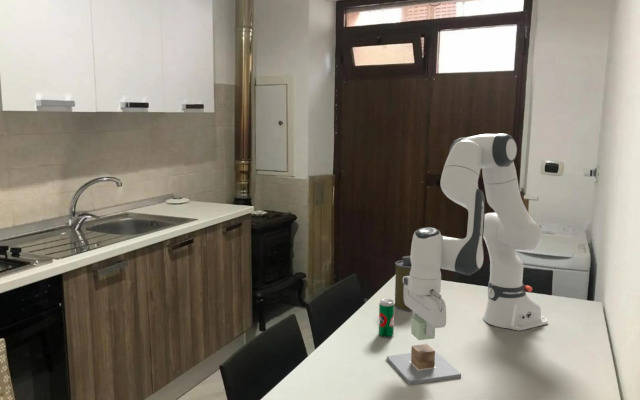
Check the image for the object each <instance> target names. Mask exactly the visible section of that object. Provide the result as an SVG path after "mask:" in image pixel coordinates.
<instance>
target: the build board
mask: <svg viewBox="0 0 640 400" xmlns="http://www.w3.org/2000/svg"><path fill="white" fill-rule="evenodd" d="M433 350H434V351H435V365H434V367H432V368H425V369H418V368H417V367H416V366H415V365H414V364H413V363H412V362H411V352H408V353H402V354H394V355H387V356H386V360H387V362H388V363H389V364H390V365H391V366H392V367H393V368H394V370H396V372H397V373H398V374H399V375H400V376H401V377H402V379H403V380H405V381H406V383H407V384H408V386H409V385H411V386H412V385H418V384H424V383H431V382H432V383H433V382H436V381H438V382H439V381H444V380H451V379H457V378H462V373H461V372H460V371H459V370H458V369H457V368H455V367H454V366H453V365H452V364H451V363H449V362H448V361H447V360H446V359H445V358H444V357H443V356H442V355H440V354H439V353H438V352H437V351H436V350H435V349H433Z"/></svg>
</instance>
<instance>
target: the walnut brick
mask: <svg viewBox="0 0 640 400" xmlns="http://www.w3.org/2000/svg"><path fill="white" fill-rule="evenodd" d="M410 349H411V350H410V351H411V352H410V353H411V362H412V363H413V364H414V365H415V366H416V367H417V368H418V369H425V368H432V367H434V365H435V351H436V350H435V349H434V348H432V347H431V346H430V345H429V344H428V343H423V344H416V345H415V344H414V345H411V348H410ZM434 350H435V351H434Z"/></svg>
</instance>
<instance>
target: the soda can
mask: <svg viewBox="0 0 640 400" xmlns="http://www.w3.org/2000/svg"><path fill="white" fill-rule="evenodd" d="M394 304H395V302H394V300H392V299H390V298H383V299H382V298H381V299H380V302H379V303H378V334H379V336H381V337H382V338H391V337H392V336H394V332H395V331H394V330H395V329H394V328H395V327H394V326H395V306H394Z"/></svg>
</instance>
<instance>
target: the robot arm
mask: <svg viewBox="0 0 640 400" xmlns="http://www.w3.org/2000/svg"><path fill="white" fill-rule="evenodd" d="M517 153H518V145H517V142H516V140H515V138H514V137H513V136H512V135H511V134H508V133H500V132H499V133H483V134H477V135H472V136H467V137H466V136H463V137H459V138H457V139H455V140H454V141H453V142H452V144H451V145H450V147H449V152H448V156H447V158H446V160H445V163H444V165H443V170H442V172H441V177H440V181H439V182H440V184H439V185H440V188H441V191H442V192H443V194H444V195H445V196H446V197H447V198H448V199H449V200H451V201H452V202H454V203H455V204H458V205H459V206H461V207H463V208H465V209H466V210H467V212H468V218H467V228H466V229H467V232H466V237H464V238H458V237H457V238H456V237H451V236H447V235H442V234H441V231H440V229H437V228H435V227H422V228H421V227H420V228H418V229H416V230H415V231H414V233H413V235H412V239H411V240H412V241H411V247H410V255H409V256H410V260H411V265H412V267H411V271H410V276H404V277H403V283H404V303H405V305H406V306H407V307H409V308H410V309H411V310H412V311H411V312H412V315H413V316H412V317H419V316H420V317H421V318H422V319H424V320H425V321H426V325H427V327H426V328H425V332H424V333H425V334H426V335H427V336H432V333H433V329H434V328H435V329H441V328H445V327H446V325H447V307H446V302H445V300H444V299H443V298H442V295H441V294H440V293H441V287H442V272H441V269H442V270H445V271H446V270H447V271H451V272H456V273H459V274H461V275H465V276H471V275H473V274H474V273H476V272H478V271H479V270H481V269H482V267H483V263H484V243H485V245H486V247H487V251H488V256H489V261H490V262H489V263H490V264H489V266H490V267H489V273H490V274H489V280H488V283H487V284H488V285H487V301H486V302H487V303H486V307H485V311H484V314H483V317H482V320H483V321H484V322H485V323H487V324H489V325H491V326H493V327H494V326H495V327H497V328H503V329H504V328H505V329H511V330H514V331H518V332H519V331H525V330H528V329H533V328H538V327H539V326H543V325H547V324H549V321H548V319H547V318H546V317H545V316H543V315H542V311H541V307H540V305H539V303H538V302H537V301H535V300H534V299H533V298H531V297H530V296H529V295H528V294H527V293H526V291H527V292H528V293H531V292H532V291H533V287H532V286H530V285H528V284H527V285H526V284H524V283H523V277H524V275H523V274H524V263H523V261H522V259H521V258H520V257H519V255H518V254H517V251H516V250H518V251H533V250H536V249H537V248H538V247H539V245H541V243H542V240H543V231H542V230H543V229H542V228H541V225H539V224H538V223H537V222H536V221H535V220H534V219H533V218H532V217H531V215H530V214H529V213H530V212H529V211H528V210H527V208H526V206H525V204H524V201H523V200H522V196H521V191H520V186H519V185H520V184H519V180H518V175H517V170H516V169H517V168H516V165H515V163H514V161H515V160H516V158H517ZM481 170H482V179H483V185H484V191H485V194H484V191H482V190H481V189H480V188H479V178H480V174H481ZM485 198H486V199H485ZM486 202H487V204H488V206H489V207H490V208H491V209H493V211H494V212H487V213H486ZM484 241H485V242H484Z"/></svg>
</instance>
